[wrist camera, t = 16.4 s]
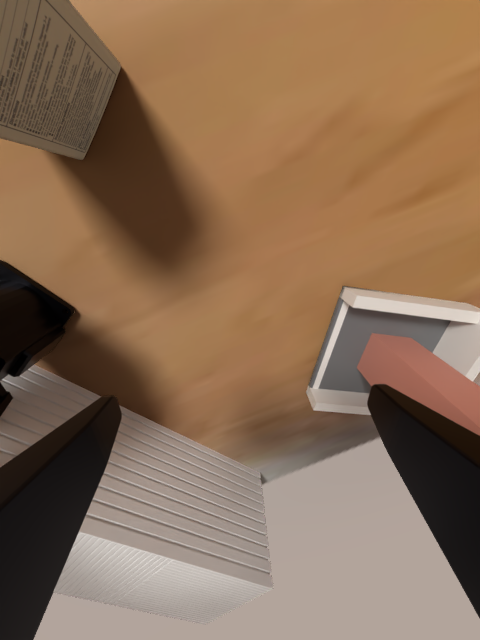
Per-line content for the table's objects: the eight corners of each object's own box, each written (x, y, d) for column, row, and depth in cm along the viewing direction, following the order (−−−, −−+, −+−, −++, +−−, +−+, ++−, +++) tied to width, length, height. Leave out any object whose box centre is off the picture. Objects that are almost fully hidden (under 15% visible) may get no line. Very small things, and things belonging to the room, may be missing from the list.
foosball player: (356, 367, 24) (505, 555, 11) (371, 333, 22) (569, 506, 9) (393, 371, 24) (579, 557, 11) (411, 337, 22) (653, 510, 10)
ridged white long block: (-30, 413, 25) (-192, 541, 16) (0, 346, 22) (-183, 455, 12) (212, 508, 35) (206, 625, 25) (260, 470, 31) (273, 589, 22)
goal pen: (306, 392, 25) (318, 422, 22) (342, 285, 20) (367, 302, 17) (408, 401, 26) (436, 432, 23) (467, 303, 21) (515, 322, 18)
